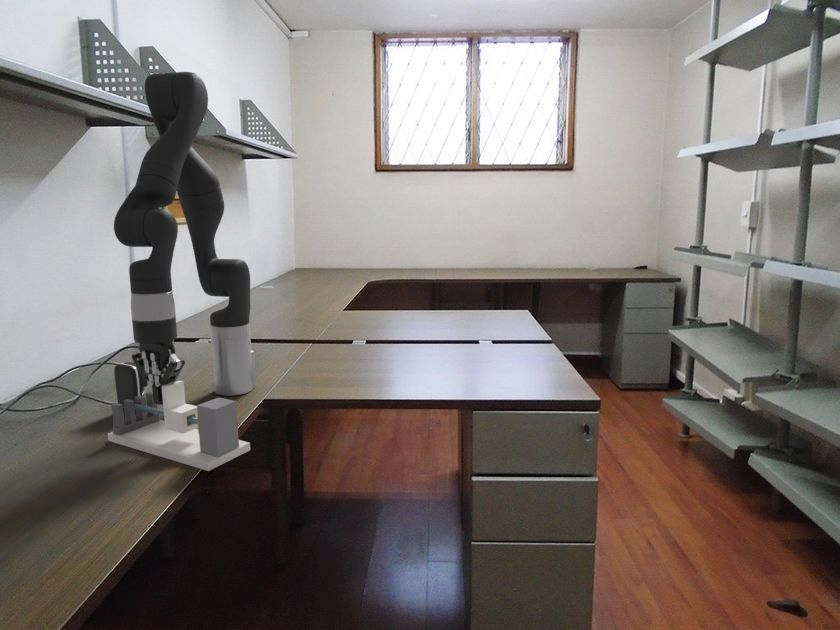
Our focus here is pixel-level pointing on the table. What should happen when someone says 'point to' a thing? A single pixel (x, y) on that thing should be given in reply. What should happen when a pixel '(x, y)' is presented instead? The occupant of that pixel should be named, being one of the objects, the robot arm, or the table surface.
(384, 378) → the table surface
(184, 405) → the sleeve
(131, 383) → the battery charger
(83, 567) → the table surface
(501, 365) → the table surface
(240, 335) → the robot arm
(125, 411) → the cable jig
